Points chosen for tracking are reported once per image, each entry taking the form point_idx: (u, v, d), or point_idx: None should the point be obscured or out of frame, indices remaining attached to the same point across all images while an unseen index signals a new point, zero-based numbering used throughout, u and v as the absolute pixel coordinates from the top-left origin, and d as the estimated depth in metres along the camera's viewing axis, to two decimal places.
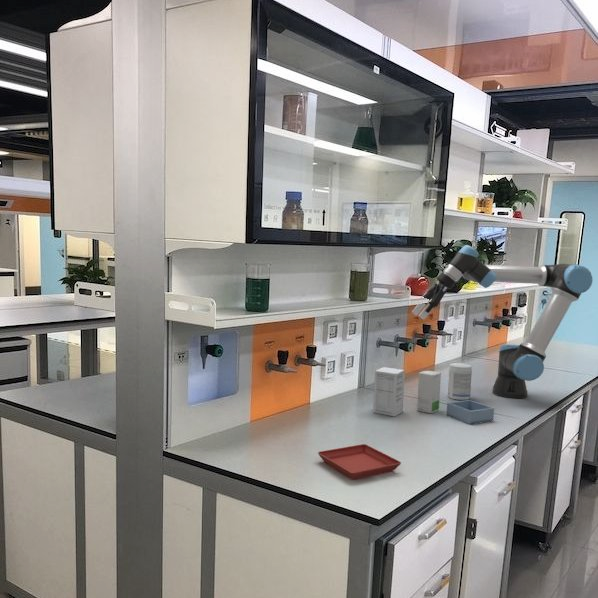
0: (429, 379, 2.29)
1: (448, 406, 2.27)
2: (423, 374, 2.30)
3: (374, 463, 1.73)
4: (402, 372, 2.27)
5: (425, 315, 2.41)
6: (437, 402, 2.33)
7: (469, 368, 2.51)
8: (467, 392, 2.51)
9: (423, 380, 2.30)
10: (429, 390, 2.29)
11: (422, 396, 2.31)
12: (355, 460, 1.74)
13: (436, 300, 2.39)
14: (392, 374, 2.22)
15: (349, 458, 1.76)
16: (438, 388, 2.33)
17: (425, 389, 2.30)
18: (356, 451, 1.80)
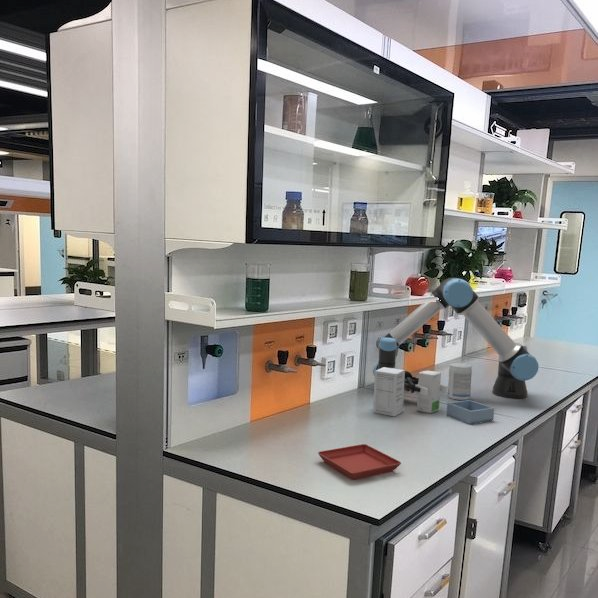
0: (429, 379, 2.29)
1: (448, 406, 2.27)
2: (423, 374, 2.30)
3: (374, 463, 1.73)
4: (402, 372, 2.27)
5: (423, 389, 2.28)
6: (437, 402, 2.33)
7: (469, 368, 2.51)
8: (467, 392, 2.51)
9: (423, 380, 2.30)
10: (429, 390, 2.29)
11: (422, 396, 2.31)
12: (355, 460, 1.74)
13: (405, 387, 2.33)
14: (392, 374, 2.22)
15: (349, 458, 1.76)
16: (438, 388, 2.33)
17: None
18: (356, 450, 1.80)
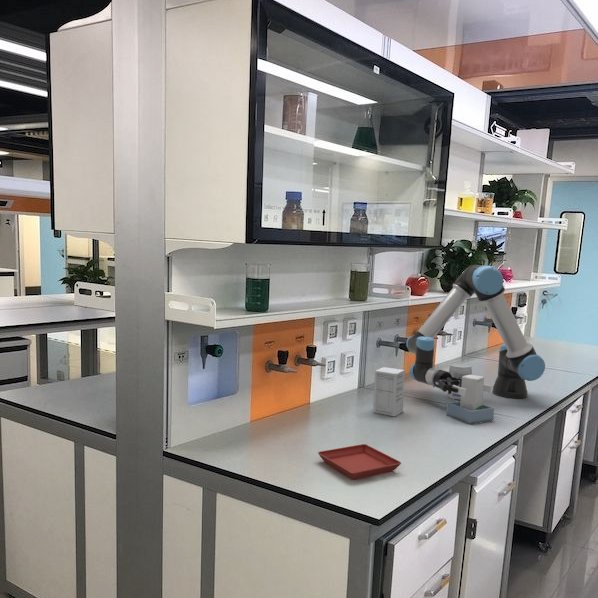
0: (473, 383, 2.21)
1: (448, 406, 2.27)
2: (466, 378, 2.22)
3: (374, 463, 1.73)
4: (402, 372, 2.27)
5: (461, 389, 2.20)
6: (480, 407, 2.25)
7: (469, 368, 2.51)
8: None
9: (466, 385, 2.22)
10: (473, 395, 2.21)
11: (465, 401, 2.23)
12: (355, 460, 1.74)
13: (442, 388, 2.25)
14: (392, 374, 2.22)
15: (349, 458, 1.76)
16: (481, 393, 2.25)
17: (468, 394, 2.22)
18: (356, 450, 1.80)
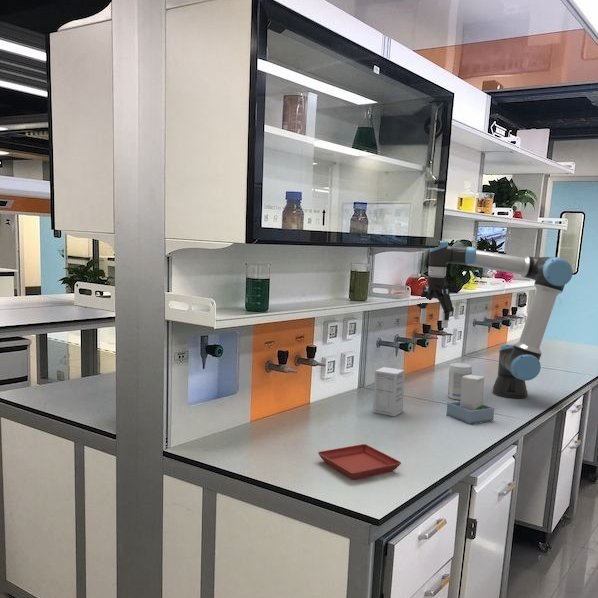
0: (473, 383, 2.21)
1: (448, 406, 2.27)
2: (466, 378, 2.22)
3: (374, 463, 1.73)
4: (402, 372, 2.27)
5: (446, 323, 2.46)
6: (480, 407, 2.25)
7: (469, 368, 2.51)
8: None
9: (466, 385, 2.22)
10: (473, 395, 2.21)
11: (465, 401, 2.23)
12: (355, 460, 1.74)
13: (449, 306, 2.43)
14: (392, 374, 2.22)
15: (349, 458, 1.76)
16: (481, 393, 2.25)
17: (468, 394, 2.22)
18: (356, 450, 1.80)
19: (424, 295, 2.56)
